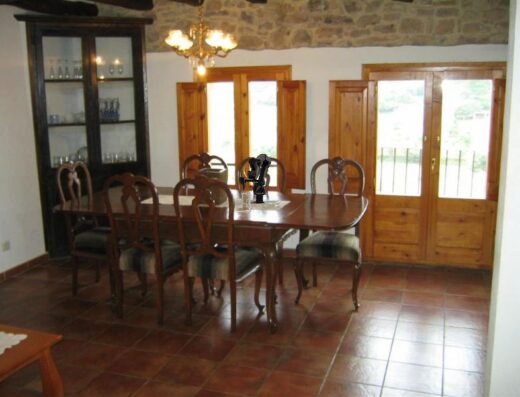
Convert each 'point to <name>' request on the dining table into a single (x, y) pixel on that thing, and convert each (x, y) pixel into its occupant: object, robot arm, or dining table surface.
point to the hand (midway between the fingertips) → (249, 190)
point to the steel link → (248, 199)
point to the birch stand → (244, 205)
